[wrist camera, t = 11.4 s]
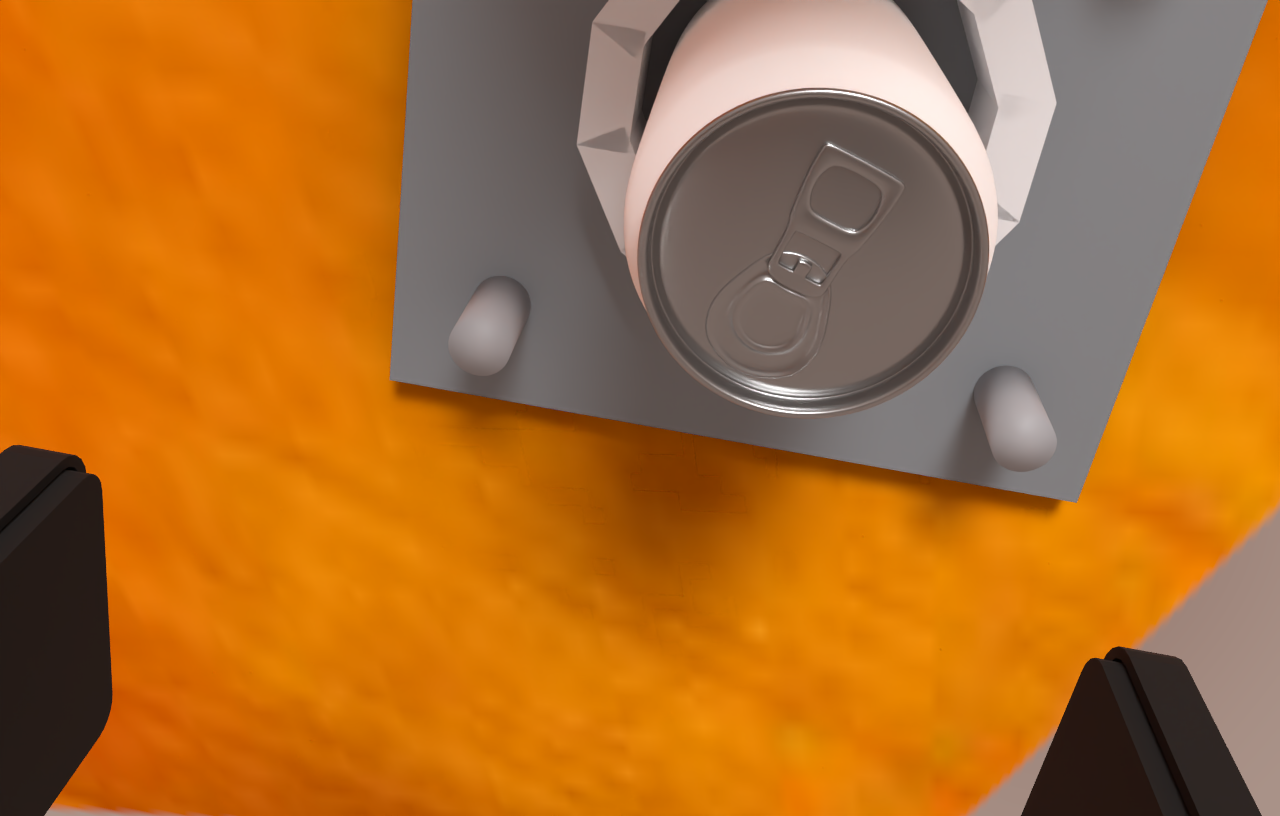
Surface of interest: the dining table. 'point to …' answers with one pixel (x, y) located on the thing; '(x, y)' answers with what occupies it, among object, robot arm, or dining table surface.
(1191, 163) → the carrier plate
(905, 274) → the can
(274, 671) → the dining table surface
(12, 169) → the dining table surface
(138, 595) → the dining table surface
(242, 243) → the dining table surface
